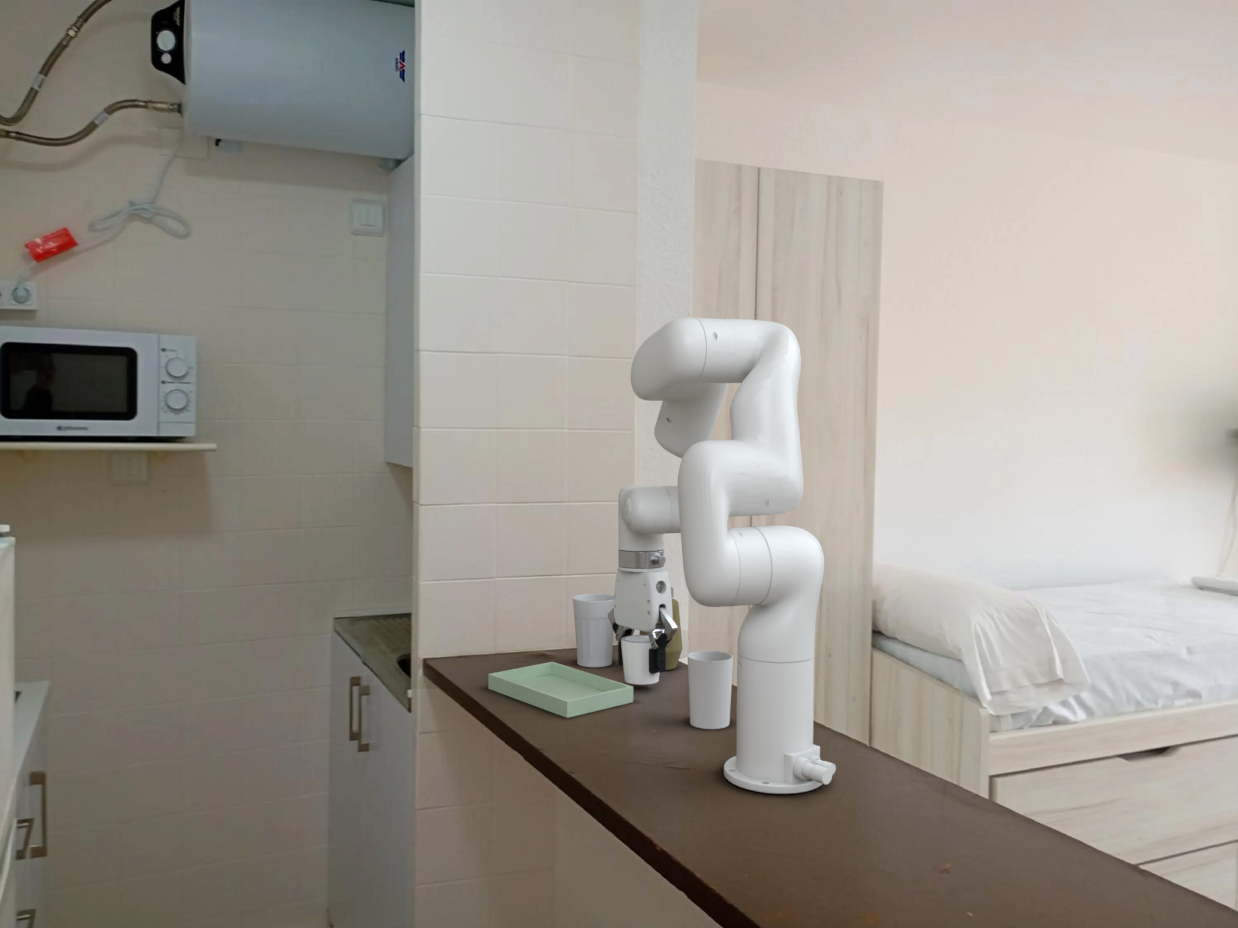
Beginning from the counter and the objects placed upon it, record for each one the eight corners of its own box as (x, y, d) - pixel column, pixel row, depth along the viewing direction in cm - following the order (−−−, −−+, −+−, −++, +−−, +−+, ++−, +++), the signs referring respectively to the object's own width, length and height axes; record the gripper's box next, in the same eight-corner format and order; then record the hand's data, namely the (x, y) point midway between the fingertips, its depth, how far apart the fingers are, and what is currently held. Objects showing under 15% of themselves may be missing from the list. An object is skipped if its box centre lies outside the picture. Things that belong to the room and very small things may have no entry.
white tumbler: (740, 727, 150) (741, 659, 149) (698, 731, 148) (699, 662, 147) (720, 714, 156) (720, 649, 156) (680, 718, 154) (680, 652, 153)
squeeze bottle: (653, 659, 191) (654, 562, 190) (691, 666, 186) (692, 566, 185) (628, 668, 184) (629, 568, 183) (666, 675, 179) (667, 572, 178)
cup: (618, 658, 192) (618, 594, 191) (613, 668, 184) (614, 602, 183) (575, 657, 192) (576, 593, 192) (569, 667, 184) (569, 600, 184)
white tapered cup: (663, 685, 167) (663, 642, 167) (620, 685, 167) (620, 642, 167) (661, 675, 174) (661, 634, 173) (621, 675, 174) (620, 634, 174)
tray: (633, 702, 163) (633, 686, 163) (567, 718, 154) (567, 701, 154) (552, 675, 179) (552, 661, 179) (488, 688, 170) (488, 673, 170)
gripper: (694, 563, 166) (695, 673, 166) (623, 554, 179) (624, 656, 179) (660, 567, 161) (660, 681, 161) (590, 557, 174) (590, 662, 174)
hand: (641, 667), depth 170 cm, fingers closed on white tapered cup, 6 cm apart
